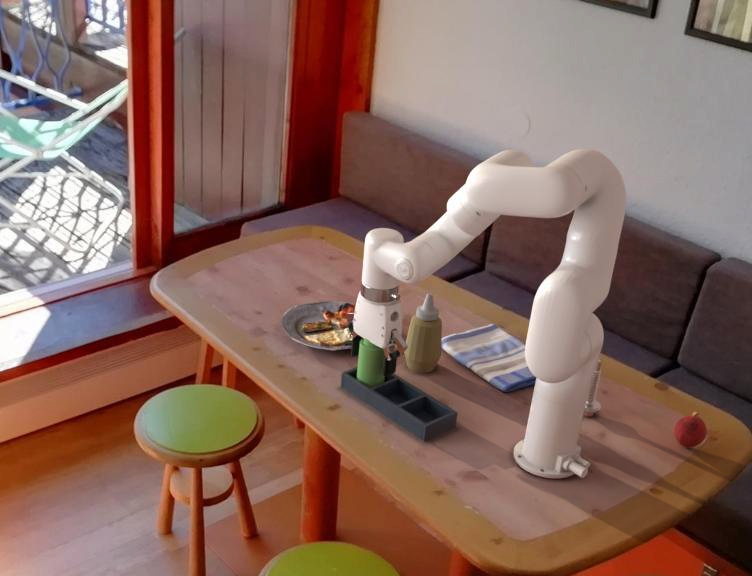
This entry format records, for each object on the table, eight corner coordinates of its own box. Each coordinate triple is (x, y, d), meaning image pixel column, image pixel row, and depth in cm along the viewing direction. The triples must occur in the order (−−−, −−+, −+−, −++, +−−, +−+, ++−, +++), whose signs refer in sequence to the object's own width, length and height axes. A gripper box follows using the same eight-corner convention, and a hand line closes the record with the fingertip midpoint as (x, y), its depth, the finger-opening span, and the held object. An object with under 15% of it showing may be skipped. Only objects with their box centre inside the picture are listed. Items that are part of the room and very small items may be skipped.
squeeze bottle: (438, 379, 228) (448, 304, 218) (400, 374, 229) (409, 300, 219) (439, 360, 234) (449, 287, 225) (403, 356, 236) (411, 283, 226)
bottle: (389, 390, 222) (397, 318, 213) (368, 398, 219) (375, 325, 210) (370, 378, 226) (377, 307, 217) (350, 386, 223) (356, 314, 214)
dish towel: (493, 330, 247) (495, 319, 245) (564, 377, 229) (566, 366, 228) (434, 346, 240) (435, 335, 238) (502, 396, 222) (504, 384, 221)
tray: (455, 429, 211) (457, 412, 209) (423, 443, 206) (426, 426, 204) (371, 376, 228) (372, 360, 226) (340, 388, 223) (341, 372, 221)
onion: (697, 459, 204) (708, 424, 199) (667, 449, 206) (676, 415, 202) (704, 444, 208) (714, 410, 204) (673, 435, 210) (683, 401, 206)
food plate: (363, 303, 257) (364, 290, 256) (405, 348, 239) (407, 334, 237) (267, 316, 251) (267, 303, 249) (302, 364, 232) (303, 350, 230)
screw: (588, 422, 214) (569, 411, 217) (604, 415, 216) (585, 404, 220) (601, 367, 207) (581, 357, 210) (617, 360, 210) (597, 350, 213)
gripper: (424, 301, 206) (415, 376, 215) (364, 270, 218) (358, 342, 227) (396, 311, 202) (388, 387, 211) (336, 279, 214) (331, 352, 223)
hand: (372, 364), depth 219 cm, fingers open, 9 cm apart
